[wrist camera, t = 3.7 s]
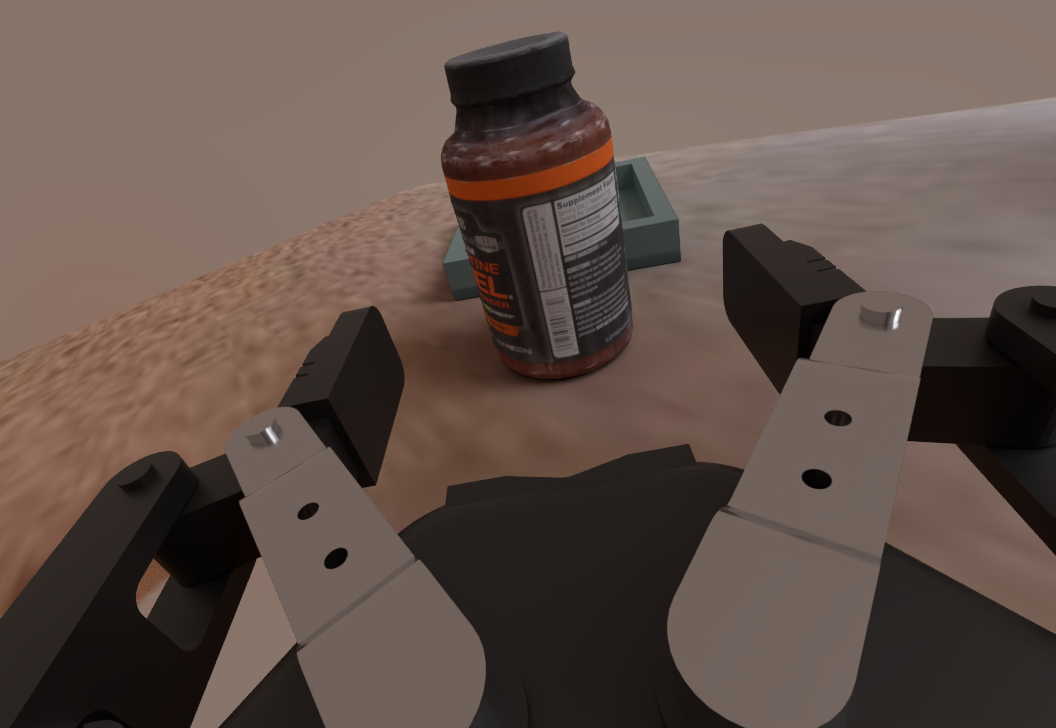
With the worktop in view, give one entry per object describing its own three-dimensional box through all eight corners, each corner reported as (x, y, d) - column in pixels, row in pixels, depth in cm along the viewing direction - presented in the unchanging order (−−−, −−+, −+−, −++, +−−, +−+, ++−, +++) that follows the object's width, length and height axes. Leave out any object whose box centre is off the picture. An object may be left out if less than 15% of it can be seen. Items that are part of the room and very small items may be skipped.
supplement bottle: (477, 345, 24) (389, 72, 18) (584, 295, 26) (537, 29, 20) (540, 407, 20) (451, 67, 13) (666, 341, 21) (639, 13, 15)
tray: (647, 189, 37) (644, 156, 35) (680, 260, 27) (678, 219, 26) (480, 222, 38) (472, 192, 37) (454, 300, 29) (442, 263, 27)
